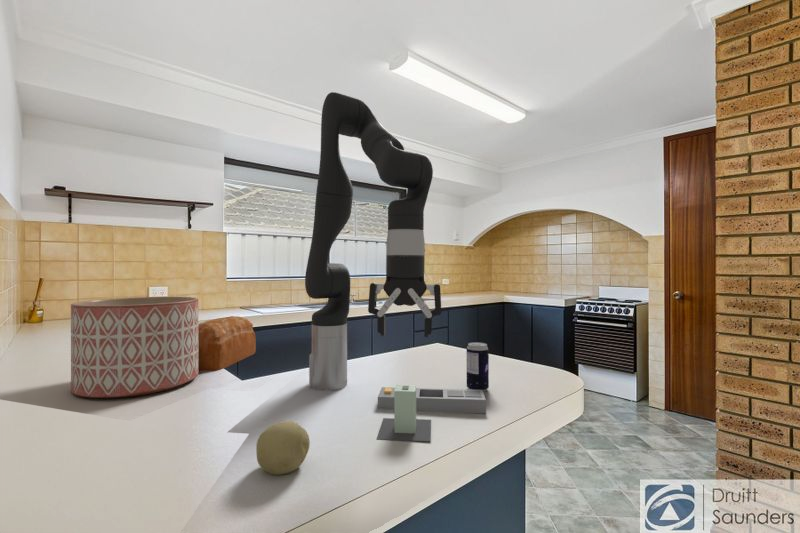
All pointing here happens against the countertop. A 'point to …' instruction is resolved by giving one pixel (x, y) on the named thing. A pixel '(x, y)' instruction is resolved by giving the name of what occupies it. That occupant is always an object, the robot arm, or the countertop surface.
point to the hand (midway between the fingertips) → (404, 336)
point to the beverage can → (477, 366)
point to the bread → (224, 342)
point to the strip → (439, 400)
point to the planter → (133, 345)
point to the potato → (282, 447)
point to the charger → (405, 408)
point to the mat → (419, 436)
